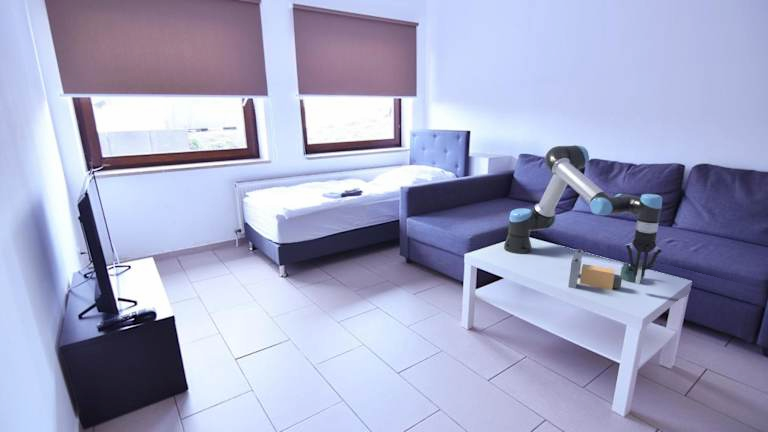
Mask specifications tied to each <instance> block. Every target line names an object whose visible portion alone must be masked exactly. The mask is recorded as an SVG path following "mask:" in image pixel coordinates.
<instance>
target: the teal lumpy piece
mask: <svg viewBox="0 0 768 432" xmlns="http://www.w3.org/2000/svg"><path fill="white" fill-rule="evenodd" d="M642 263H643V259H640V261H639V267H638V268H642ZM634 269H635V268H634V267H631V266H630V262H624V263H623V265H622V266H621V269H620V274H619V275H621V276H622V281H625V282H628V283H634V284H636V275H634ZM643 279H644V277H642V276H641V279H640V281H642V280H643Z"/></svg>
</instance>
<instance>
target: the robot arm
mask: <svg viewBox="0 0 768 432" xmlns="http://www.w3.org/2000/svg"><path fill="white" fill-rule="evenodd" d="M589 161H590V155H589V151H588V150H587V148H586V147H585V146H582V145H577V144H574V145H573V144H572V145H557V146H554V147H551V148H550V149H549V150H548V151H547V153H546V154H545V159H544V162H545V166H546V167H547V169H548V170H549V171H550V172H551V174H553V175H552V177H551V178H550V181H549V183H548V184H547V187H546V189H545V190H544V193H543V195H542V197H541V199H540V201H539V203H536V204H535V205H534V207H533V209H530V208H525V207H523V208H522V207H521V208H515V209H513V210H511V211H510V213H509V214H510V215H509V219H508V221H509V223H508V234H507V237H506V239H505V242H504V244H503V250H505V251H507V252H509V253H512V254H513V253H514V254H529V253H531V252H532V248H533V247H532V243H531V239H530V235H531V232H533V231H534V232H535V231H545V230H548V229H551V228H553V226H555V224H556V222H557V215H556V211H555V209H556V207H557V205H558V203H559V201H560V199H561V197H562V196H563V194H564V192H565V190H566V188H567V186H568V185H569V186H570V187H571V188H572V189H573V190H574V191H575V192H576V193H577V194H579V196H581V197H582V198H583V199H584V201H586V202H587V203H588V204H589V209H590V211H591V213H592V214H593V215H596V216H608V215H614V214H625V213H626V214H628V213H629V214H631V215H636V216H637V219H636V220H637V221H636V225H635V229H636V230H635V232H634V239H633V240H632V242H630V243H626V245H625V247H626V249H627V251H628V256H629V257H628V258H629V266H631V267H634V268H635V269H634V275H636V283H635V284H637V285H640V284H641V280H642V279H641V276H642V277H643V278H644V277H645V275H646V270H652V267H653V265H654V263H655V261H656V259H657V257H658V255H659V254H660V253H661V252H662V248H661V247H659V246H657V243H656V240H657V235H658V233H657V232H658V228H659V222H660V215H661V211H662V206H663V197H662V196H660V195H659V194H653V193H643V194H641V196H640V197H639V196H636V195H635V196H634V195H630V194H628V193H618V194H616V195H614V196H610V195H608V194H607V193H606V192H605V191H604V190H602V189H601V188H600V187H599V186H597V184H595V182H593V181H592V180H591V179H589V178H588V177H587V176H586V175H585V174H584V173H582V172H581V171H580V169H584V168H585V167H587V166H588V164H589ZM633 247H634V248H635V250H636V256H635V257H636V258H635V262H634V256H633V250H632V249H633ZM652 251H654V252H653V253H652V256H651V258H650V259H649V261H648V256H649V253H650V252H652ZM642 253H643V258H642V266H641V268H638V267H639V261H640V260H641V254H642ZM647 262H648V263H647ZM640 279H641V280H640Z"/></svg>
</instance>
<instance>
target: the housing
mask: <svg viewBox="0 0 768 432" xmlns="http://www.w3.org/2000/svg"><path fill="white" fill-rule="evenodd" d="M583 252H584V249H580V248H579V249H577V248H575V251H574V254H573V255H572V256H573V257H572V260H571V265H570V271H569V272H570V273H569V280H568V288H572V289H577V285H578V279H580V276H581V269H582V267H581V266H582V259H583V254H584V253H583Z"/></svg>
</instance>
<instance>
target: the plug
mask: <svg viewBox="0 0 768 432" xmlns="http://www.w3.org/2000/svg"><path fill="white" fill-rule="evenodd" d="M581 266H582V267H581V271H580V278H579V284H581V285H584V286H590V287H595V288H599V289H605V290H610V291H613V288H614V289H619V290H620V289H621V287H622V281H623V280H622V276H621V275H620V274H616V269H615V268H609V267H603V266H597V265H592V264H586V263H583V264H582V265H581Z"/></svg>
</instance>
